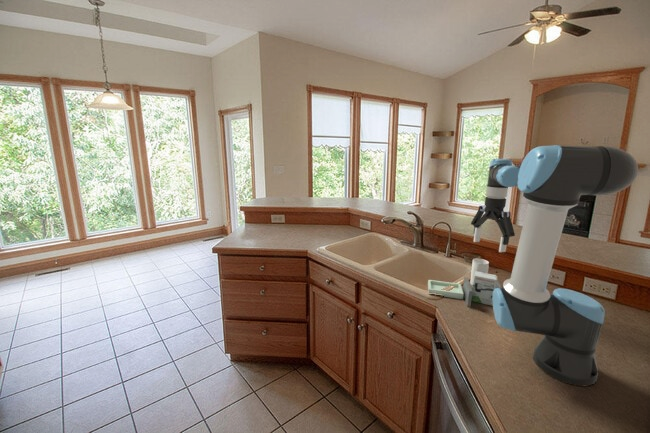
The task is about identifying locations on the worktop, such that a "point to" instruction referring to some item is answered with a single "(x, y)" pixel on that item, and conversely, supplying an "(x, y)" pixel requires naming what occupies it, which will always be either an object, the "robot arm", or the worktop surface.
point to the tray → (438, 285)
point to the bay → (468, 291)
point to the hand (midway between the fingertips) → (488, 246)
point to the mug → (479, 267)
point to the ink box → (483, 288)
